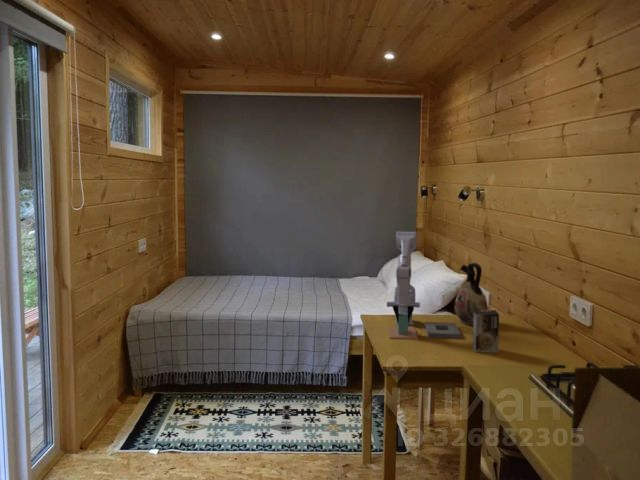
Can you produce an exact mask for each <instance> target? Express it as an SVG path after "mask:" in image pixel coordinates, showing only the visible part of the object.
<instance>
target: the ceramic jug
mask: <svg viewBox="0 0 640 480" xmlns="http://www.w3.org/2000/svg"><path fill="white" fill-rule="evenodd" d="M475 270H476V271H475ZM460 271H462V272H464V273H465V274H466V275H467V278H466V281H465V283H464V284H463V285H462V286H461V287H460V289H459V291H458V293H457V295H456V298H455V301H454V312H455V315H456V316H457V317H458V319H459V321H460V322H461V324H463V325H469V326H473V316H474V310H489V309H488V302H487V301H488V300H487V298H486V295H485V293H484V292H483V290H482V289H481V287H480V282H481V277H482V267H481V265H480V264H478V263H477V262H470V263H468V265H466V264H463V265H462V266H461V267H460Z"/></svg>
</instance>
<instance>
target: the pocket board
mask: <svg viewBox="0 0 640 480" xmlns="http://www.w3.org/2000/svg"><path fill="white" fill-rule="evenodd" d="M424 329H425V332H426V335H427V337H428V339H429V338H431V339H462V333H461V331H460V329H459V328H458V325H457V324H456V323H455V322H444V321H443V322H442V321H441V322H439V321H438V322H436V321H435V322H433V321H424Z"/></svg>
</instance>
